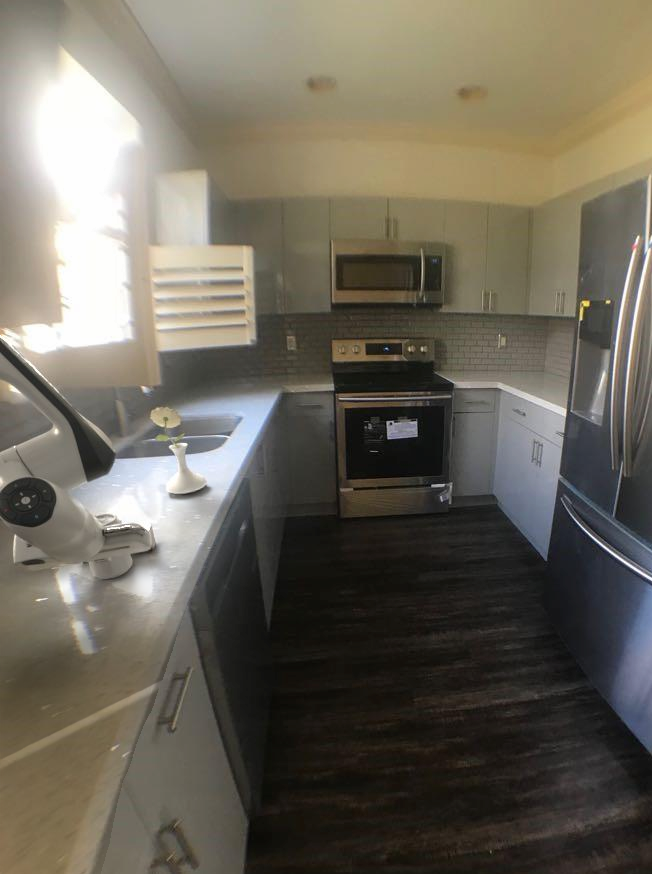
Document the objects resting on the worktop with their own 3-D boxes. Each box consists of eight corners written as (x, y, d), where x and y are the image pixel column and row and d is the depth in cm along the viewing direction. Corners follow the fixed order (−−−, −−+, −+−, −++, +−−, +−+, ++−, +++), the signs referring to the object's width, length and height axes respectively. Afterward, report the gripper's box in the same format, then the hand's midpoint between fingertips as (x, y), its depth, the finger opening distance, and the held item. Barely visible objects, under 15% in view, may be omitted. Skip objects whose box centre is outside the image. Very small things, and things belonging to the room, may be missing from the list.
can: (88, 571, 95) (72, 520, 91) (127, 557, 100) (113, 508, 96) (98, 585, 90) (82, 531, 86) (139, 570, 95) (125, 518, 91)
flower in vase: (215, 483, 140) (200, 402, 131) (192, 498, 130) (174, 411, 120) (178, 481, 143) (161, 402, 134) (153, 495, 133) (133, 410, 124)
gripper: (140, 509, 81) (159, 533, 93) (4, 529, 76) (44, 553, 88) (141, 542, 79) (161, 563, 91) (1, 566, 73) (42, 585, 85)
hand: (102, 558), depth 89 cm, fingers closed, pressing on can
